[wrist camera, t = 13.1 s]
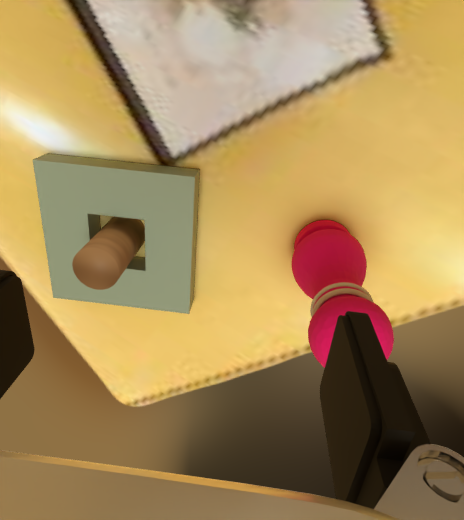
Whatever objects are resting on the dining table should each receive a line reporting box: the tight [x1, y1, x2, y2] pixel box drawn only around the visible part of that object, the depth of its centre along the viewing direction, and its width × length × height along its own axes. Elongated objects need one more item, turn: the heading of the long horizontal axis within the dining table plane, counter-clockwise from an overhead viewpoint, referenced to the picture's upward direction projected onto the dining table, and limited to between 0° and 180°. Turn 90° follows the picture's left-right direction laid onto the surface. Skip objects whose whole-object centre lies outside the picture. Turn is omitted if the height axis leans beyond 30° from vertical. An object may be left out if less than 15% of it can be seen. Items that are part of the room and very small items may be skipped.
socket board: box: [33, 153, 200, 314], centre depth 42 cm, size 16×16×3 cm
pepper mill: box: [292, 220, 394, 367], centre depth 34 cm, size 7×7×20 cm
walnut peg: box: [72, 217, 145, 290], centre depth 40 cm, size 4×4×9 cm
